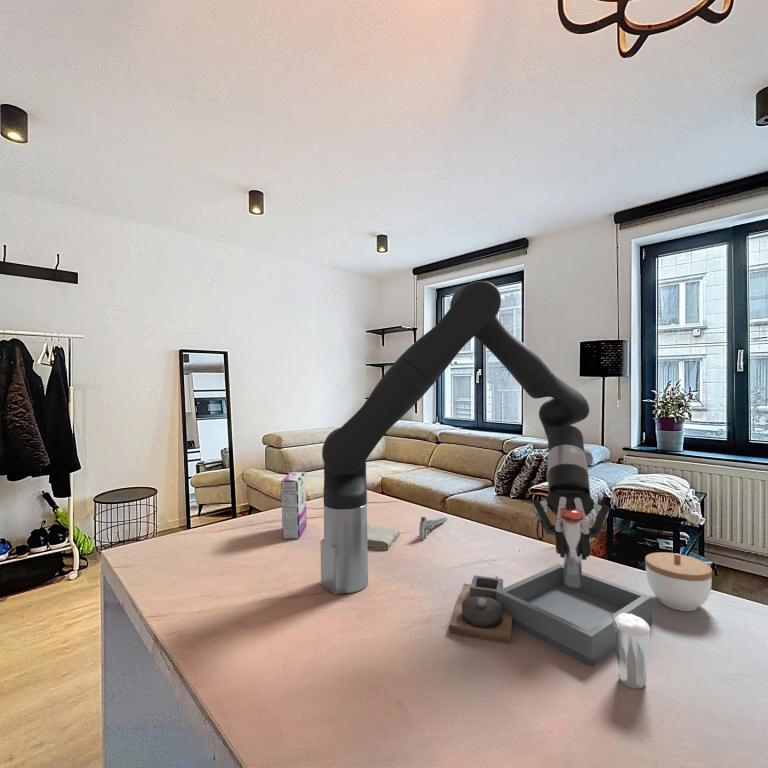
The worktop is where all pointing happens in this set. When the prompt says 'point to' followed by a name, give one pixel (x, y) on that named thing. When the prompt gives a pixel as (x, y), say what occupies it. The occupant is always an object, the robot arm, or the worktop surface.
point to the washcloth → (381, 537)
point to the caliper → (429, 525)
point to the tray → (572, 611)
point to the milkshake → (632, 649)
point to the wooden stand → (481, 612)
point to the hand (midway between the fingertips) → (573, 556)
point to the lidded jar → (678, 580)
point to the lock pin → (572, 546)
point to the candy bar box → (293, 505)
